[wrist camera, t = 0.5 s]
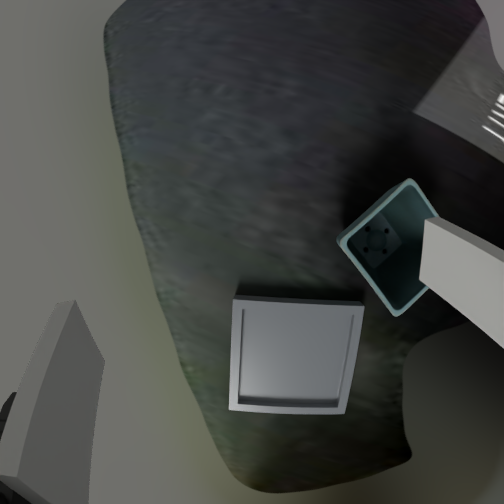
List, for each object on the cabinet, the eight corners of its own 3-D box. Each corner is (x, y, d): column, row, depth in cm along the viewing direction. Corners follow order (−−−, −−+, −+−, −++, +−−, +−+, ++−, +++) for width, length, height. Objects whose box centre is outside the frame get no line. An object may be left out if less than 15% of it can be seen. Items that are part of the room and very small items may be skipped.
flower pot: (320, 235, 34) (337, 242, 25) (378, 183, 33) (411, 175, 24) (368, 294, 34) (396, 319, 25) (422, 244, 33) (463, 253, 24)
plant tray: (235, 294, 35) (232, 299, 33) (359, 301, 34) (364, 306, 32) (230, 401, 37) (228, 409, 35) (341, 405, 36) (344, 413, 34)
